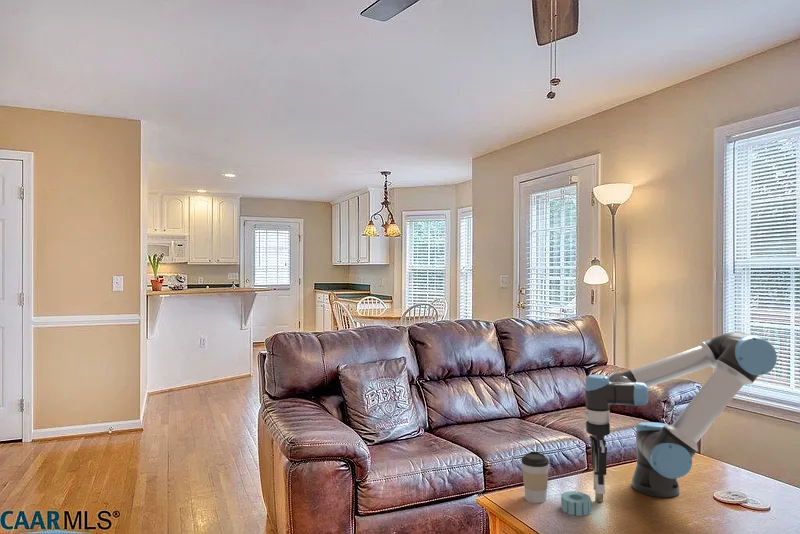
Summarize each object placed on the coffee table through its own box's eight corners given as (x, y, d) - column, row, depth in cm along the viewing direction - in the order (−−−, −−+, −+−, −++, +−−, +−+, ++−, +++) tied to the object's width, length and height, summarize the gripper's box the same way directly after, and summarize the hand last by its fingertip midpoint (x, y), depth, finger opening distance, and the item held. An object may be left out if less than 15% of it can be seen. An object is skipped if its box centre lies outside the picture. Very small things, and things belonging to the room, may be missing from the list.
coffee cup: (550, 505, 174) (549, 460, 174) (522, 503, 176) (521, 458, 176) (548, 494, 183) (547, 451, 183) (521, 492, 185) (521, 449, 185)
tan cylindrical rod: (602, 499, 178) (601, 452, 178) (604, 502, 175) (603, 454, 175) (594, 499, 178) (593, 452, 178) (596, 502, 176) (595, 454, 176)
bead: (587, 503, 175) (587, 491, 175) (593, 516, 166) (593, 503, 166) (559, 502, 176) (559, 490, 176) (564, 515, 167) (564, 502, 167)
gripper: (581, 415, 185) (582, 481, 185) (591, 428, 170) (593, 500, 170) (603, 415, 184) (604, 482, 184) (615, 428, 169) (617, 501, 169)
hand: (599, 491), depth 177 cm, fingers closed on tan cylindrical rod, 2 cm apart
